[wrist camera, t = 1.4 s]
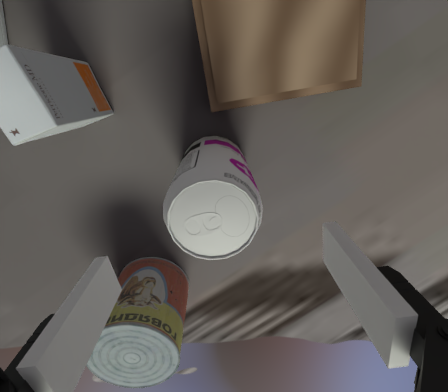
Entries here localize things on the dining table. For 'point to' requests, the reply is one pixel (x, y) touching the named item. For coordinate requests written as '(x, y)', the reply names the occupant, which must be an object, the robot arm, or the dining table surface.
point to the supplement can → (213, 201)
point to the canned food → (143, 326)
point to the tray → (278, 48)
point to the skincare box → (46, 94)
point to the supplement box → (2, 27)
